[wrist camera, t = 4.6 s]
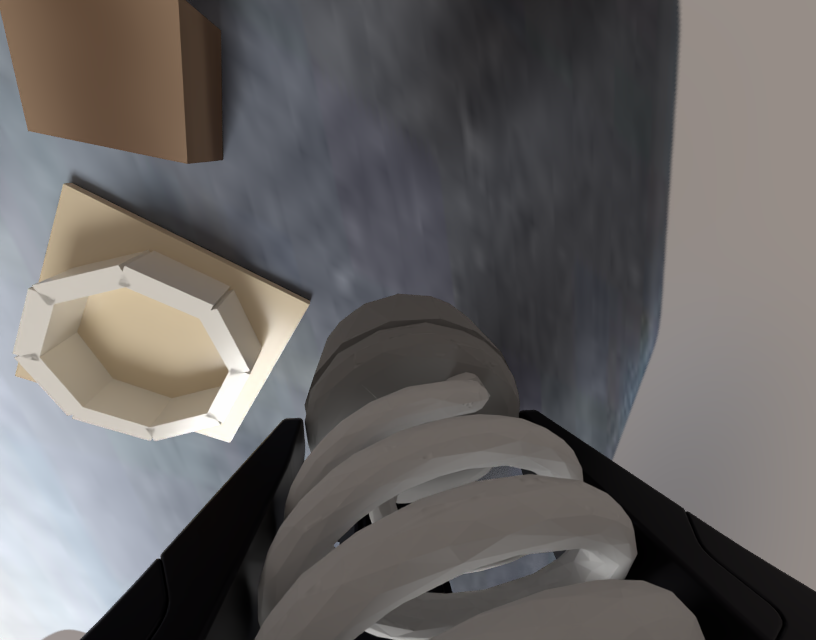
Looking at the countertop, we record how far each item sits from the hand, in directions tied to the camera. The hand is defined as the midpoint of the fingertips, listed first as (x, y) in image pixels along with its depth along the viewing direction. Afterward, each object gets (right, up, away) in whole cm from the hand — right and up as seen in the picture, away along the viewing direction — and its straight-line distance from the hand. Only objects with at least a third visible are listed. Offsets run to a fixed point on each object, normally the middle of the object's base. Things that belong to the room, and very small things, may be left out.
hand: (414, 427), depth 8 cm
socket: (-14, +2, +11) cm, 18 cm away
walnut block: (-11, +13, +6) cm, 18 cm away
